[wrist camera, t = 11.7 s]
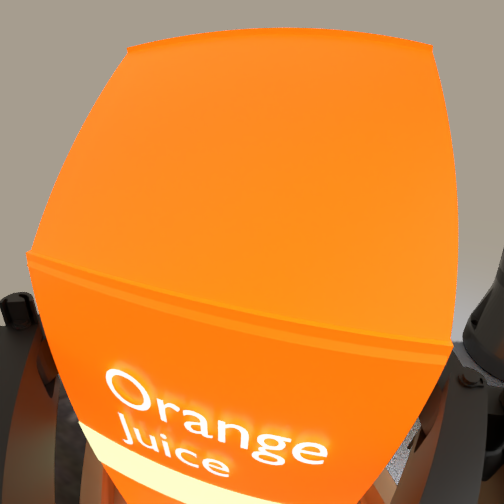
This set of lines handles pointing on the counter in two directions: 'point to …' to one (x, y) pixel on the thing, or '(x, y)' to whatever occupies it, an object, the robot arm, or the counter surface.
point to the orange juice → (253, 264)
